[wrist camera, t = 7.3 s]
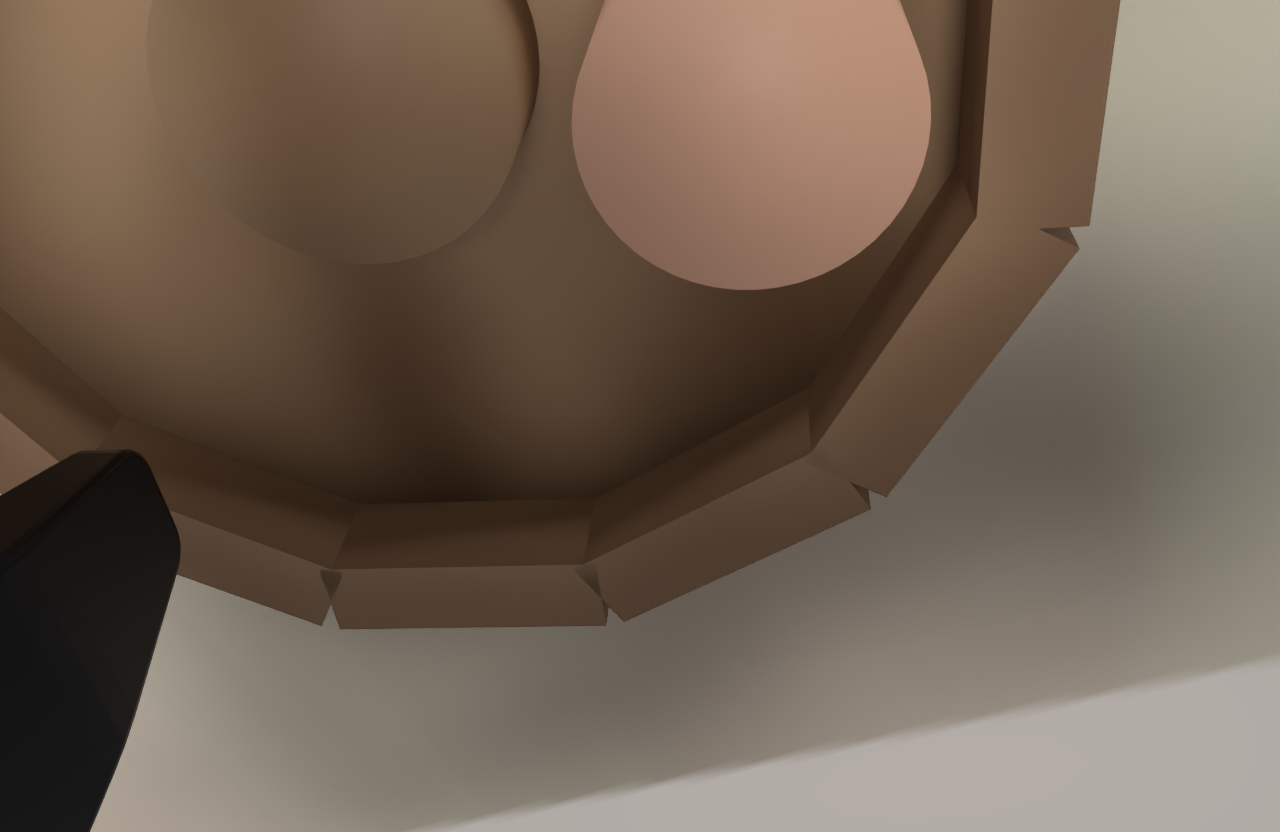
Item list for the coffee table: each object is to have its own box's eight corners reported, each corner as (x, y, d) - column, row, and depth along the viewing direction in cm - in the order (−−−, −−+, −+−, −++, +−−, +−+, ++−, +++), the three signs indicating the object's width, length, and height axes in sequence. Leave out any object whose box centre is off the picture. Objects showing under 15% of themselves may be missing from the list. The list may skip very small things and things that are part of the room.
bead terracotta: (897, -146, 15) (939, -71, 12) (890, 149, 17) (923, 280, 14) (589, -116, 15) (546, -36, 12) (622, 166, 18) (595, 298, 14)
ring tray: (1191, -1143, 11) (1301, -1326, 8) (1008, 520, 22) (1035, 619, 20) (-678, -788, 13) (-955, -861, 11) (35, 543, 24) (-32, 634, 22)
